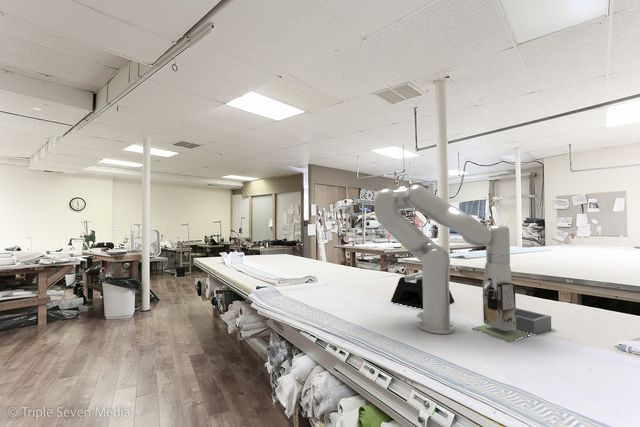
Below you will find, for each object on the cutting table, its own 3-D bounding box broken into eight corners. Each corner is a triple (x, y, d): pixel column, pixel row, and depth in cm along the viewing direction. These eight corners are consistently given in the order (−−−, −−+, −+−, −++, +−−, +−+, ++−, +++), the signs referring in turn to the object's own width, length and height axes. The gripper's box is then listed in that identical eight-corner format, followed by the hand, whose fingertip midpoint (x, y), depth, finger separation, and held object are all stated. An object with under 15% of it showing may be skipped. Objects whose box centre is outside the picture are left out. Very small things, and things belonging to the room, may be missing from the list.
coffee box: (517, 329, 108) (516, 283, 108) (503, 331, 106) (502, 284, 106) (495, 321, 117) (494, 279, 117) (482, 323, 115) (481, 280, 115)
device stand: (390, 303, 154) (390, 273, 155) (413, 295, 170) (413, 268, 170) (433, 312, 138) (432, 279, 138) (454, 303, 153) (453, 273, 154)
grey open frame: (495, 323, 121) (494, 308, 121) (512, 319, 127) (511, 304, 127) (534, 334, 109) (533, 318, 109) (551, 329, 114) (550, 313, 114)
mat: (472, 329, 115) (472, 327, 115) (492, 324, 120) (492, 322, 120) (509, 342, 102) (509, 340, 102) (530, 335, 108) (529, 334, 108)
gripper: (502, 256, 119) (503, 302, 119) (473, 259, 111) (474, 308, 111) (522, 258, 113) (523, 307, 112) (493, 261, 105) (494, 313, 104)
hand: (498, 307), depth 111 cm, fingers closed on coffee box, 7 cm apart
